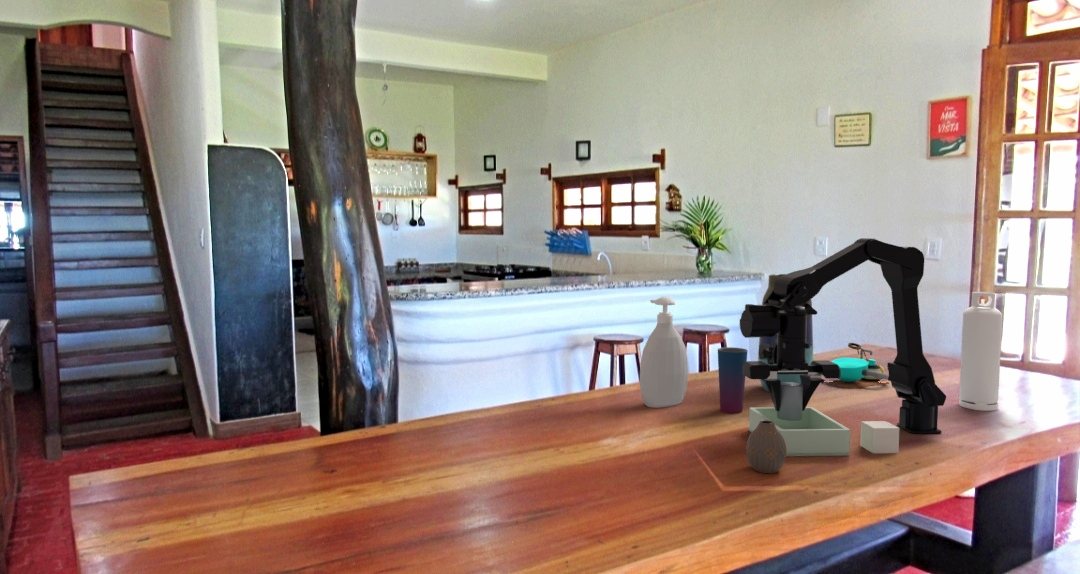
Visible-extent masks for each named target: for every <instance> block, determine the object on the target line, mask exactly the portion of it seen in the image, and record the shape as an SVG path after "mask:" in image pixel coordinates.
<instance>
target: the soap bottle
mask: <svg viewBox="0 0 1080 574" xmlns="http://www.w3.org/2000/svg"><path fill="white" fill-rule="evenodd" d="M649 301H650V304H655V305H657V306H662V311H661V312H658V314H657V315H656V316H657V317H656V320H657V323H656V325H655V328H653V331H652V332H651V333H650V335H649V336H648V338H647V341H646V343H645V346H644V347H643V350H642V355H641V360H640V369H639V387H640V395H641V398H642V401H643V403H644V404H645V405H646V406H647V407H648V408H651V409H652V408H653V409H654V408H655V409H656V408H657V409H658V408H659V409H660V408H667V407H673V406H676V405H680V404H681V403H682V402H683V400H684V398H685V395H686V393H687V389H688V387H687V386H688V382H689V381H688V379H689V363H688V354H687V348H686V345H685V343H684V341H683V339H682V337H681V334H680V333H679V332H678V331H677V330H676V328H675V327H674V326H675V325H674V322H673V321H674V319H673V317H674V316H673V314H672V313H671V312H668V306H675V305H676V302H675V300H674V299H672V297H669V296H661V297H659V298H656V299H650V300H649Z"/></svg>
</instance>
